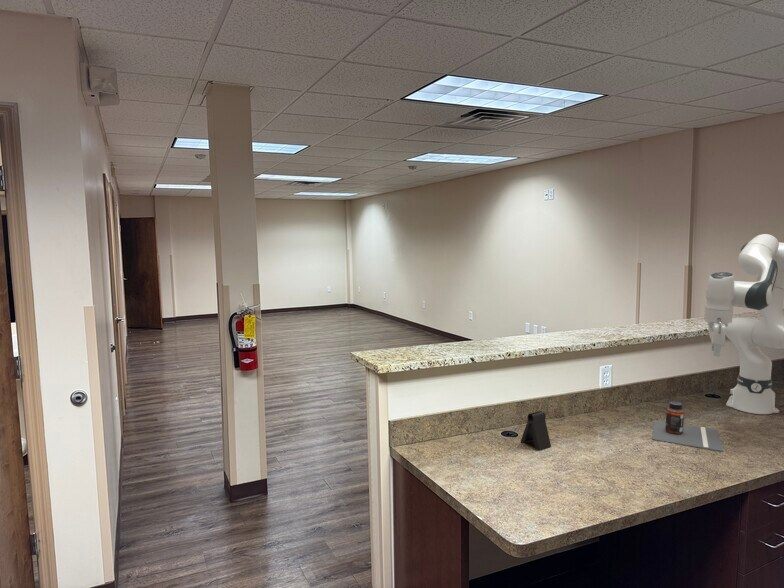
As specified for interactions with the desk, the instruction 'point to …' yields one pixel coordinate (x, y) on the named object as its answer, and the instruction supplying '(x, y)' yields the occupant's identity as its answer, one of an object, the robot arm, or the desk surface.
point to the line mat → (689, 436)
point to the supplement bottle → (675, 418)
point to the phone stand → (536, 432)
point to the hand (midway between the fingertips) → (715, 353)
